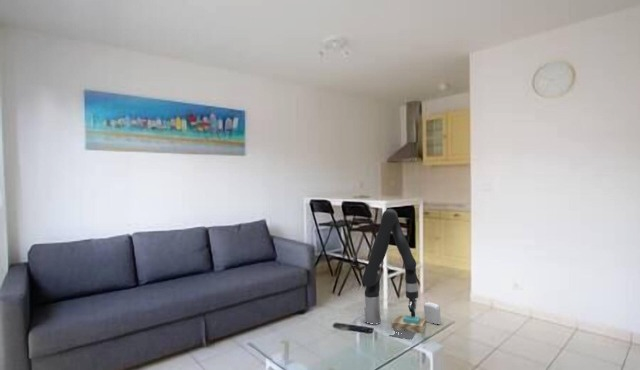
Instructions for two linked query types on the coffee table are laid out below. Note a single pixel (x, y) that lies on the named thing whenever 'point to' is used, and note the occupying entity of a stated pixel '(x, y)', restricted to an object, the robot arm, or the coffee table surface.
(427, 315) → the photo printer
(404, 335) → the mat
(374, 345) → the coffee table surface
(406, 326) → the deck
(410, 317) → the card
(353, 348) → the coffee table surface
